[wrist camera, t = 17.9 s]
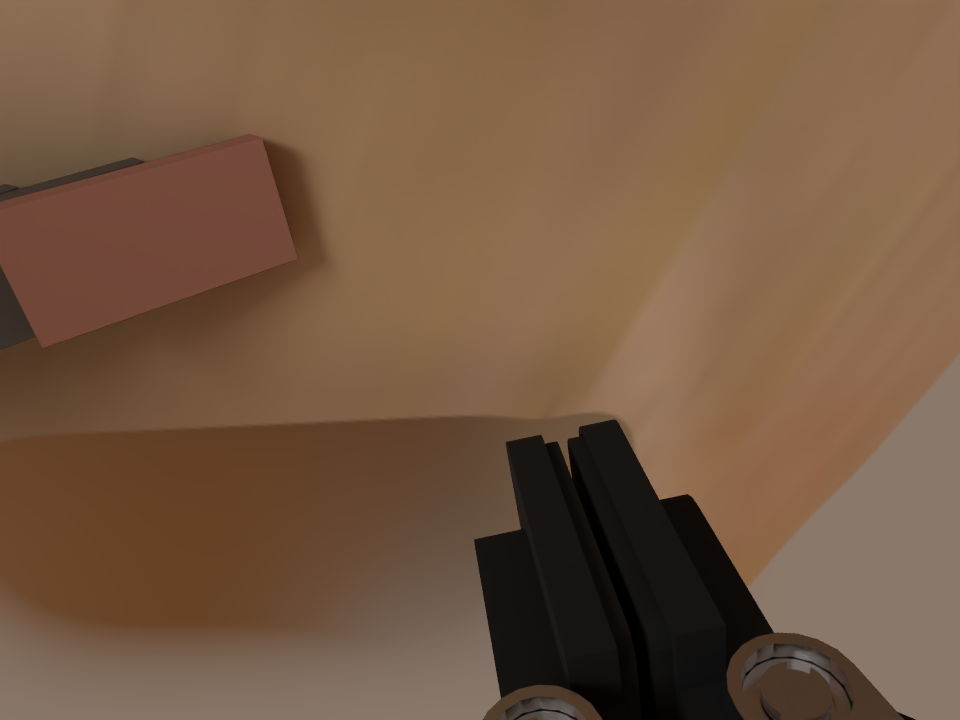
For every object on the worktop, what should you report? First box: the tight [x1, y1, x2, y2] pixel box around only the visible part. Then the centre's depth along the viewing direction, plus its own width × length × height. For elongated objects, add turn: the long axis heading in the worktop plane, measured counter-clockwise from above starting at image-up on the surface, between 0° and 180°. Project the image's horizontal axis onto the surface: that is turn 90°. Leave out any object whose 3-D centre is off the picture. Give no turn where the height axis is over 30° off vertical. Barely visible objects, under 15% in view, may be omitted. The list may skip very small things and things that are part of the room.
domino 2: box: [0, 135, 298, 348], centre depth 29 cm, size 2×5×10 cm
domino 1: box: [0, 158, 143, 349], centre depth 28 cm, size 2×5×10 cm
